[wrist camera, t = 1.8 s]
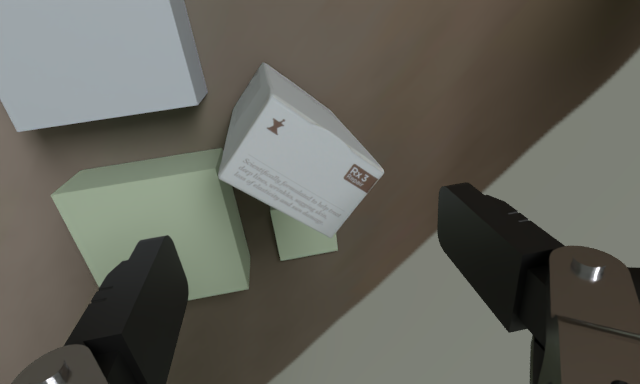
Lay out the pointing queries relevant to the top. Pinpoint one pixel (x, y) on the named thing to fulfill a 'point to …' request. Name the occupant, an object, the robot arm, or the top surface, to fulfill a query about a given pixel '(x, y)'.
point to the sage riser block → (160, 218)
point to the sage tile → (299, 238)
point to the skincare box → (295, 154)
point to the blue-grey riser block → (95, 60)
